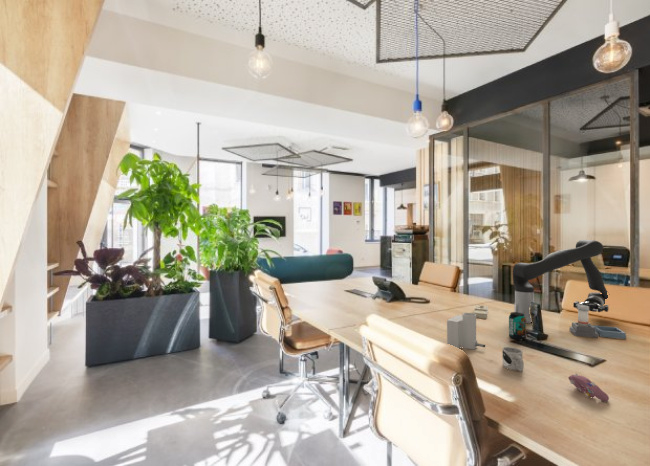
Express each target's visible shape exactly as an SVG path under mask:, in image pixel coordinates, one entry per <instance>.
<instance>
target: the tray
mask: <svg viewBox="0 0 650 466" xmlns="http://www.w3.org/2000/svg"><path fill="white" fill-rule="evenodd" d="M592 326H593V327H595V332H596V333H598V337H601V338H611V339H612V338H613V339H621V340H623V339H624V340H626V339H627V338H626V337H627V335H626V332H625V331H623V330H621V329H620V327H617V326H606V325H592Z"/></svg>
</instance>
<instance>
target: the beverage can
mask: <svg viewBox="0 0 650 466" xmlns="http://www.w3.org/2000/svg"><path fill="white" fill-rule="evenodd" d="M508 336H509V338H510V339H512V340H515V339H518V340H517V341H520V340H519V339H525V338H526V339H527V323H526V318H525V316H524V314H523V313H518V312H514V311H513V312H510V314H509V316H508ZM526 339H525V340H526Z"/></svg>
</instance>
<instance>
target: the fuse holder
mask: <svg viewBox="0 0 650 466" xmlns="http://www.w3.org/2000/svg"><path fill="white" fill-rule="evenodd" d="M588 326H589V327H585V326H578V322H575V321H573V322H571V326H569V332H571V333H572V334H573V335H574V336H575V337H586V338H595V339H598V338H599V335H598V333H596V332H595V327H593V325H592V324H591V323H589V324H588Z"/></svg>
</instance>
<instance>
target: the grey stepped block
mask: <svg viewBox="0 0 650 466" xmlns="http://www.w3.org/2000/svg"><path fill="white" fill-rule="evenodd" d="M446 335H447V336H446V338H447V339H446V341H447V344H450V345H453V346H455V347H457V348H459V349H460V347H461V349H467V350H476V349H477V347H480V348H486V344H483V343H479V342H478V340H477V317H476V314H474V312H473V313H472V312H463V313H462V314H456V315H455V316H453V317H451V318H449V319H447V320H446ZM447 344H446V345H447ZM462 347H463V348H462Z"/></svg>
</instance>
